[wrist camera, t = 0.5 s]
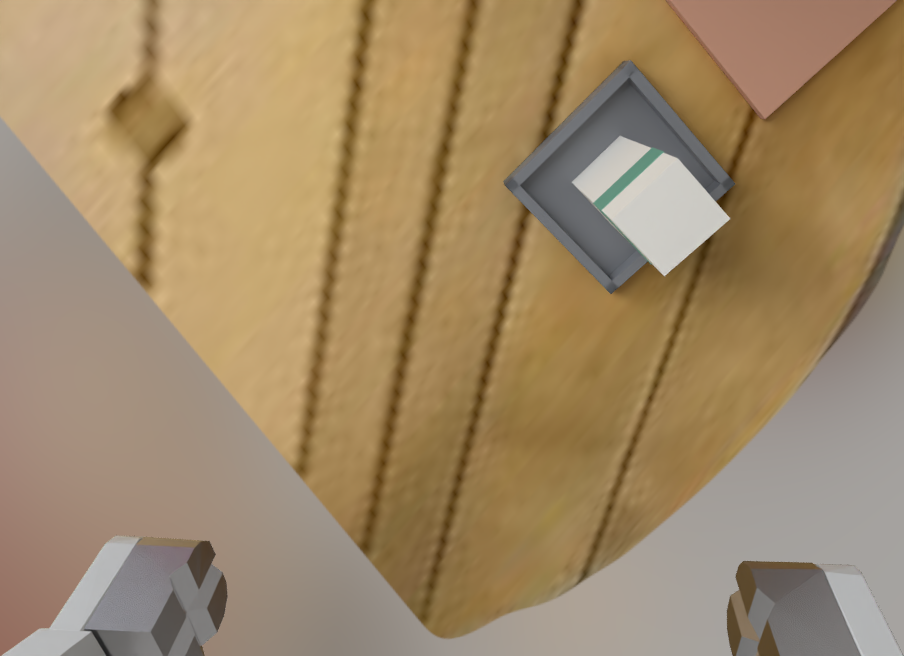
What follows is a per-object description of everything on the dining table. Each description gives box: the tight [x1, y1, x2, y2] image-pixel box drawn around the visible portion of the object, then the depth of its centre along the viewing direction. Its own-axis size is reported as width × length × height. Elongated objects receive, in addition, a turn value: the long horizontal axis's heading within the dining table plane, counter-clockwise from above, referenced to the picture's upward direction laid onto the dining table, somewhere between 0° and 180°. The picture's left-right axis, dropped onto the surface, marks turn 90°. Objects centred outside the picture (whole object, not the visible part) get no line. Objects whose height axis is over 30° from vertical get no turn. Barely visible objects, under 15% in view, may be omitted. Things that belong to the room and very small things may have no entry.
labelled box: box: [572, 136, 730, 276], centre depth 46 cm, size 5×5×14 cm
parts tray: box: [503, 61, 735, 294], centre depth 52 cm, size 13×13×2 cm
